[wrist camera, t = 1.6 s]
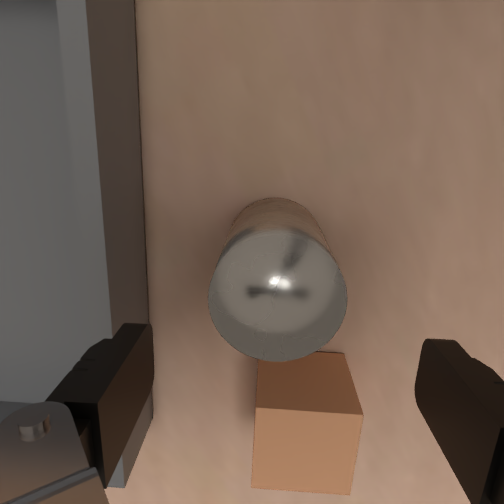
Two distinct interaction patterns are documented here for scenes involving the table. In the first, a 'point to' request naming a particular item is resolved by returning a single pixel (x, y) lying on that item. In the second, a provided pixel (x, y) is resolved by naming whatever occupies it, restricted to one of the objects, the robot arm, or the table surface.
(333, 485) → the cube
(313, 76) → the table surface
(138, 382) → the robot arm
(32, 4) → the tote
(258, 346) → the cylinder
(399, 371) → the table surface
